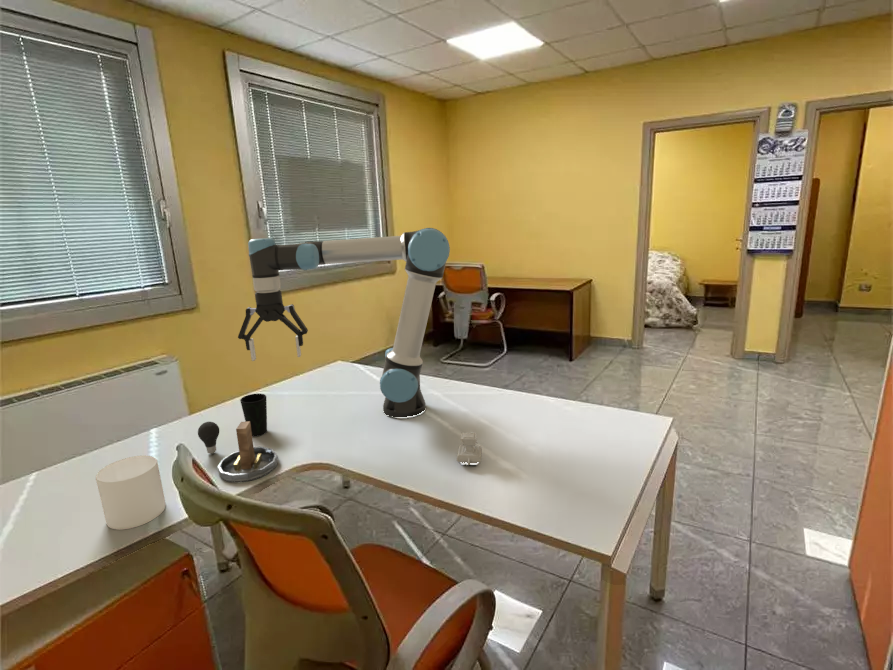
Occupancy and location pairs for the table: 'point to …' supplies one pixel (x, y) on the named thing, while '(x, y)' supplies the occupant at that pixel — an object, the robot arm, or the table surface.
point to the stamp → (469, 449)
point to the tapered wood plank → (245, 445)
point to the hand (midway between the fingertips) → (276, 357)
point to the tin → (234, 472)
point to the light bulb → (209, 435)
